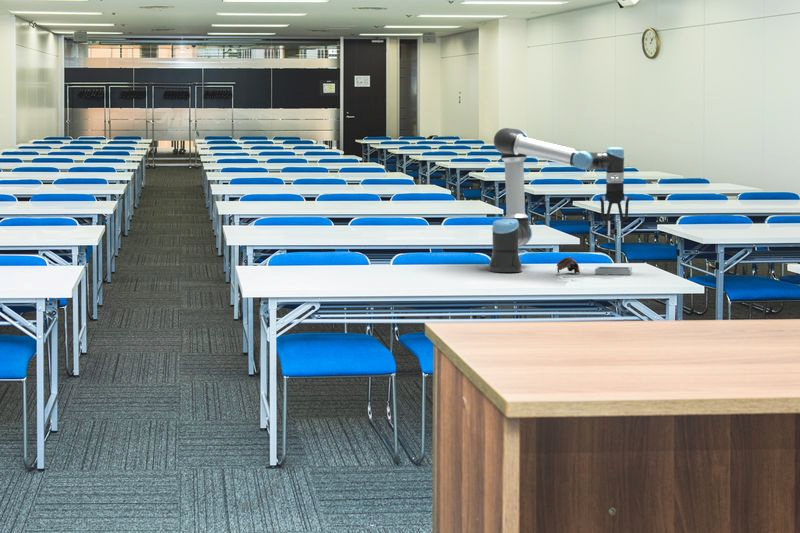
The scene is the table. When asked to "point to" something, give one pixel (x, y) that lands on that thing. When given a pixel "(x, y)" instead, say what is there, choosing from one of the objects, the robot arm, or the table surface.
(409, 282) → the table surface
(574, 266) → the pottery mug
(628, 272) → the tray
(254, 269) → the table surface
